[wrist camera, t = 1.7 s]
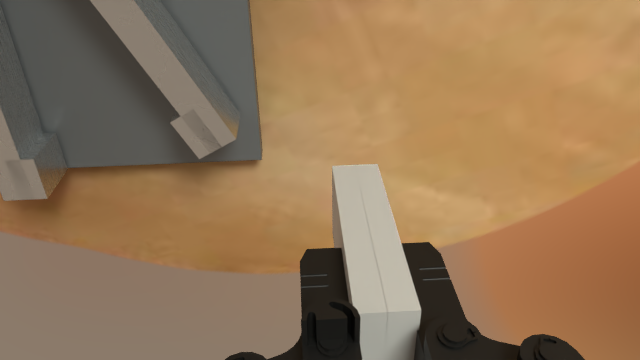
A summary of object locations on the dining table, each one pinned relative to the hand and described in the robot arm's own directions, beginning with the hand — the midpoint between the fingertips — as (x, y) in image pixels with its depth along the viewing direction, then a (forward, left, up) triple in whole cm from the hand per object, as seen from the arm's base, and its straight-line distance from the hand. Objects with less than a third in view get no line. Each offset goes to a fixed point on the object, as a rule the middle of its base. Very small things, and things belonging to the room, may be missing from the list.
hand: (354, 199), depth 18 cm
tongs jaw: (-4, -9, -12) cm, 16 cm away
